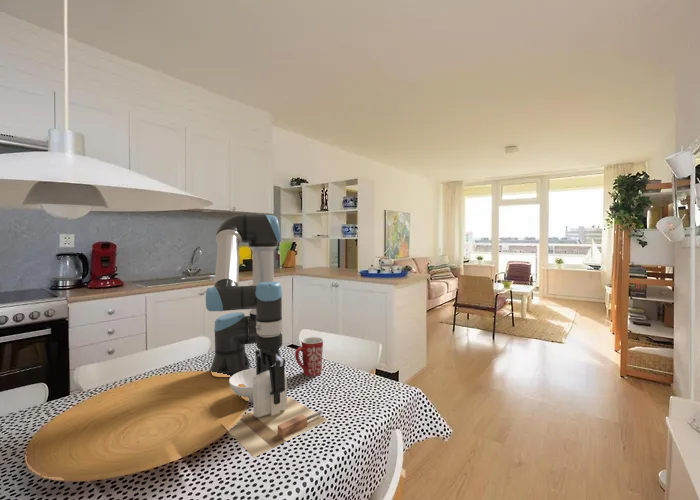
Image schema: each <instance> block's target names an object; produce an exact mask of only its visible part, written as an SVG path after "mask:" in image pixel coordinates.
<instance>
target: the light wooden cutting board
mask: <svg viewBox="0 0 700 500" xmlns="http://www.w3.org/2000/svg"><path fill="white" fill-rule="evenodd" d="M315 413H316V412H315V411H313V410H312V409H310V408H309V407H307V406H306V405H304V404H302V403H300V402H299V401H297V400H295V399H294V398H292V397H291V396H287V408H286V409H284V410H281V411H280V413H278V414H275V415H273V416H272V415H271V414H268V415H264V416H261V417H255V416H254V415H253V410H251V411H250V412H247V413H245V414H243V415H244V416H243V417H242V419H241V420H240V421H239V422H238V423H237V425H235V426H234V427H233V428H231V429H230V430H229V431H227V432H228V433H229V434H230V435H231V437H233V438H234V439H235V440H236V441H237V442H238V443H239V444H240V445H241V446H242V447H243V448H244V450H246V451H247V452H248V453H249V454H250V455H251V456H252V457H253V458H257V457H258V456H261V455H263V454H264V453H266V452H268V451H270V450H272V449H274V448H277V447H278V446H281V445H282V444H284V443H286V442H287V441H290V440H292V439H293V438H296V437H297V436H300V435H301V434H304V433H305V432H308V431H310V430H311V429H313V428H315V427H317V426H319V425H322V424H323V423H325V422H327V421H328V419H327V418H325V417H323V416H322V415H321V414H319V415H317V416H315V417H313V418H311V419H309V420H307V426H306V427H304V428H302V429H300V430H298V431H296V432H294V433H292V434H290V435H288V436H286V437H284V438H282V437H281V436H279V435H278V425H280V424H282V423H284V422H286V421H288V420H291V419H293V418H295V417H297V416H299V415H301V414H302V415H304V416H306V417H308V416H311V415H313V414H315Z"/></svg>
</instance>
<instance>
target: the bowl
mask: <svg viewBox="0 0 700 500" xmlns="http://www.w3.org/2000/svg"><path fill="white" fill-rule="evenodd" d="M255 376H256V368H255V367H253V368H249V369H247V370H243V371H240V372H238V373H236V374H234V375H233V376H231V377H229V380H228V383H229V387H230V390H232V392H233V393H235V394H236V395H237V396H238V395H239V396H238V397H240V396H243V397H248V398H249V402H248V403H253V380H254V377H255ZM239 384H244V385H245V386H246V387H239V386H238V385H239Z"/></svg>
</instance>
